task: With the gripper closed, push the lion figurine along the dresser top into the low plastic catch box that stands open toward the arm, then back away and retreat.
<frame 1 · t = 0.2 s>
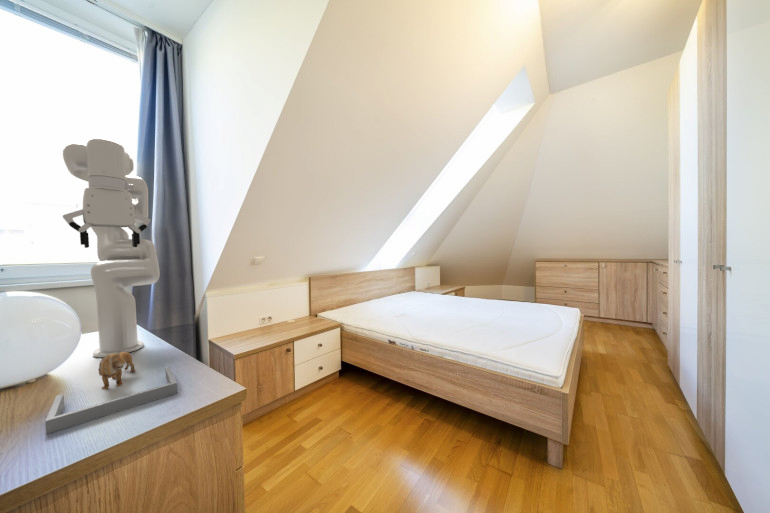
hand: (112, 247, 77), 36 cm above the dresser top, tool pointing down, fingers open, 9 cm apart
lion figurine: (120, 382, 73), on the dresser top
catch box: (119, 398, 64), on the dresser top
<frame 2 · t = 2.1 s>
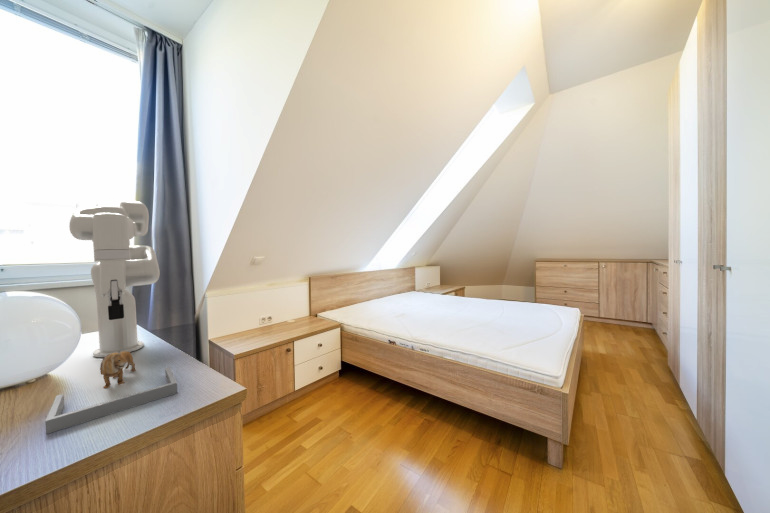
hand: (116, 318, 80), 15 cm above the dresser top, tool pointing down, fingers closed
nothing on the dresser top moved.
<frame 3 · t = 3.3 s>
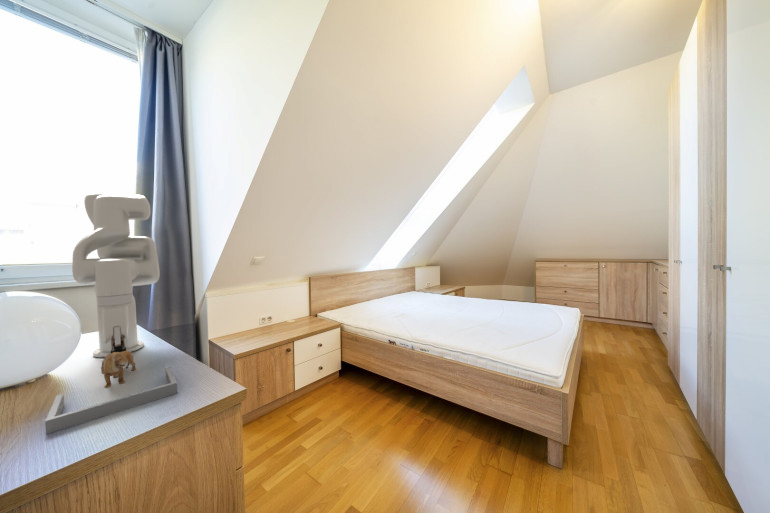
hand: (119, 362, 81), 2 cm above the dresser top, tool pointing down, fingers closed
nothing on the dresser top moved.
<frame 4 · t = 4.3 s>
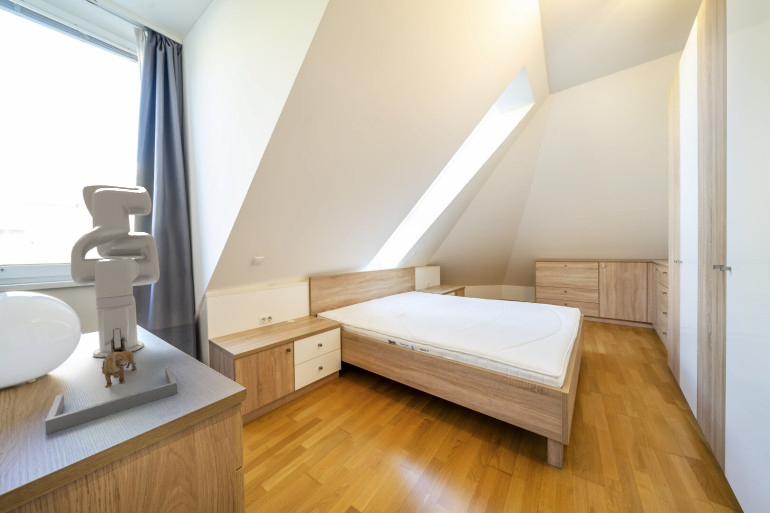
hand: (119, 365, 78), 2 cm above the dresser top, tool pointing down, fingers closed
lion figurine: (122, 380, 74), on the dresser top, touching gripper
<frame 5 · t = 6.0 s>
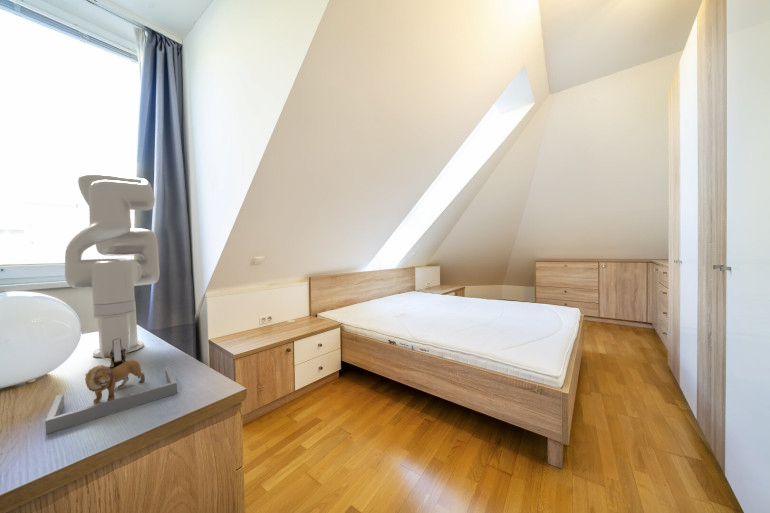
hand: (119, 379, 70), 2 cm above the dresser top, tool pointing down, fingers closed
lion figurine: (117, 395, 66), on the dresser top, touching gripper
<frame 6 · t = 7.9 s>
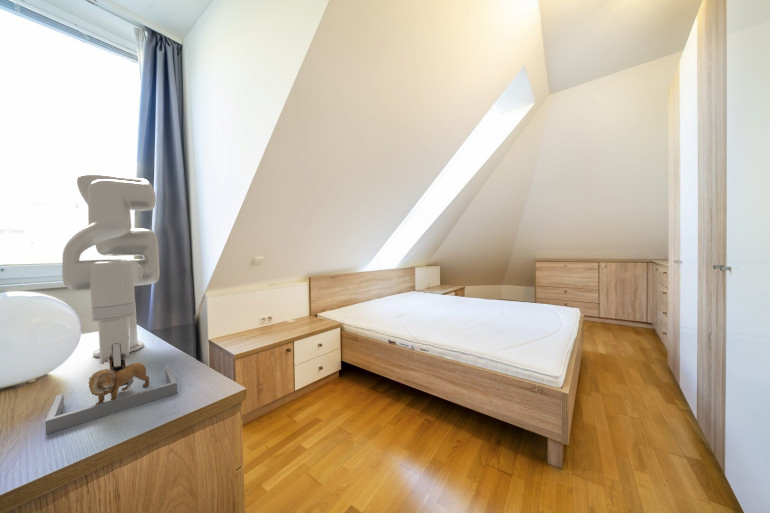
hand: (119, 385, 67), 1 cm above the dresser top, tool pointing down, fingers closed
lion figurine: (120, 399, 64), on the dresser top, touching gripper
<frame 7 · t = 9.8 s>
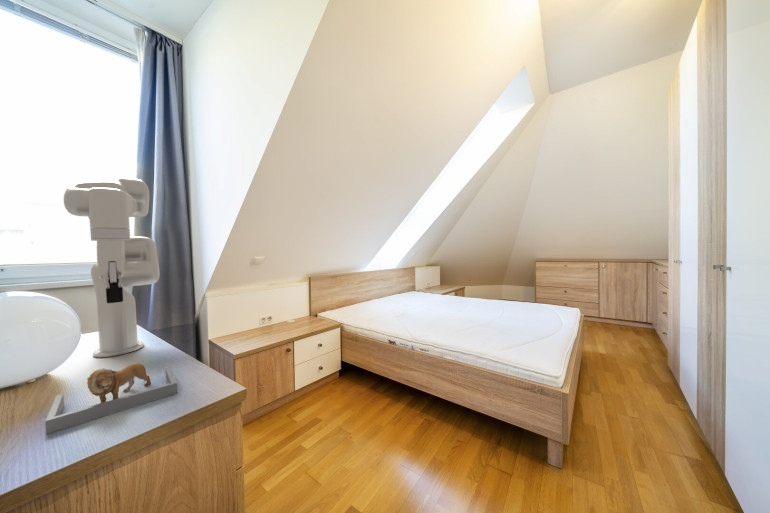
hand: (115, 301, 75), 21 cm above the dresser top, tool pointing down, fingers closed
lion figurine: (122, 398, 64), on the dresser top
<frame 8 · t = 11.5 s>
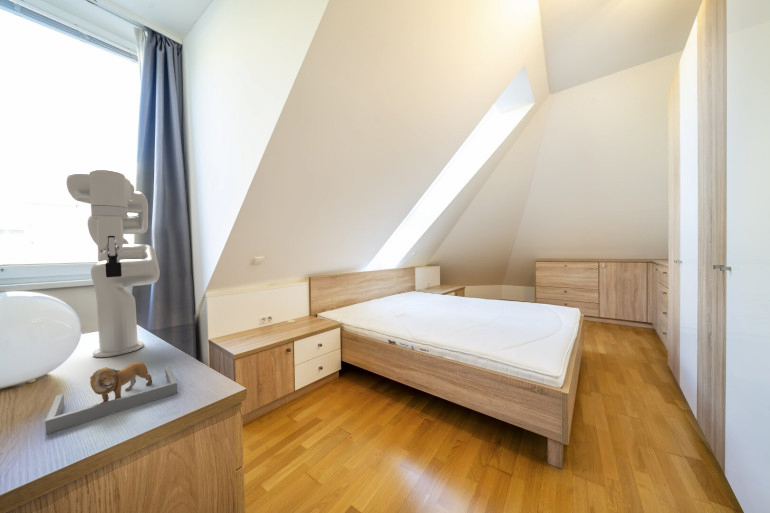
hand: (114, 276, 80), 27 cm above the dresser top, tool pointing down, fingers closed
nothing on the dresser top moved.
at the end: lion figurine inside the target area on the catch box (1.0 cm from its centre), point 0.0 cm above the catch box's base; lion figurine moved 11.6 cm from its start; the gripper is holding nothing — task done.
